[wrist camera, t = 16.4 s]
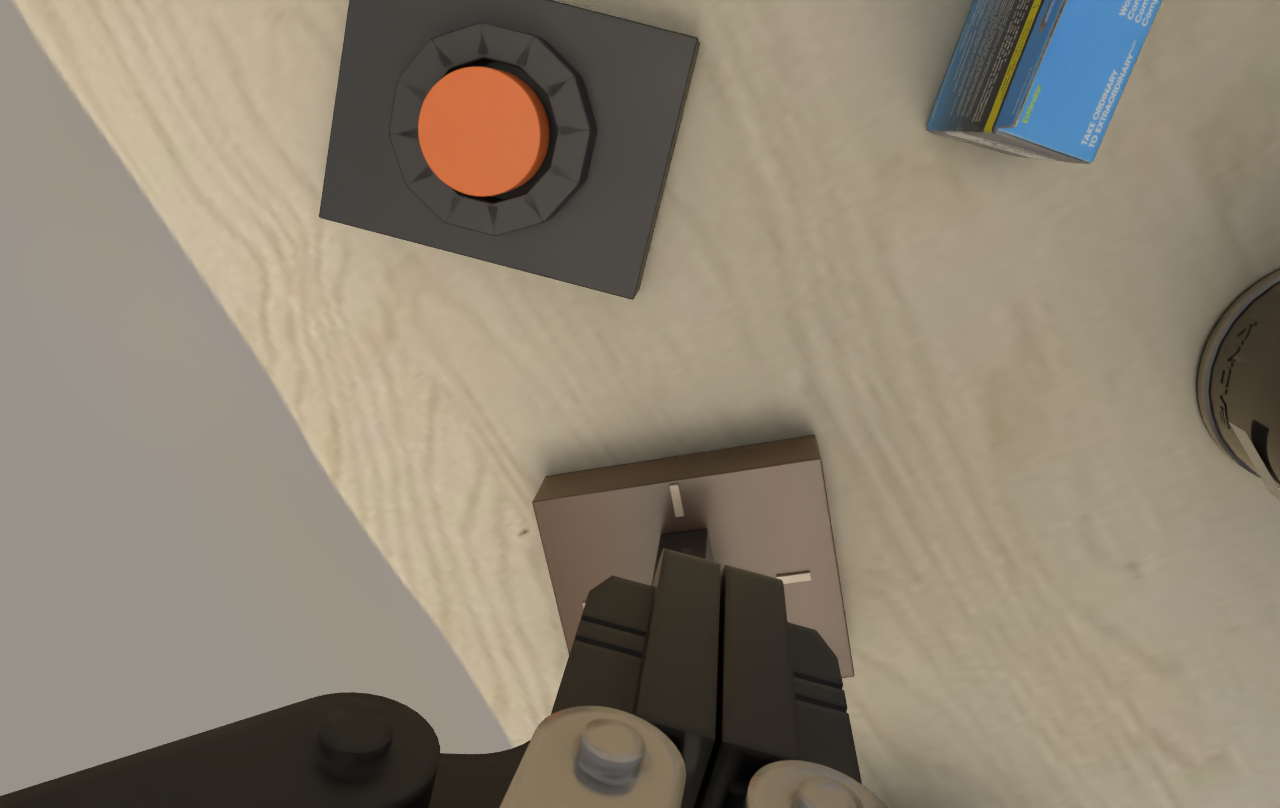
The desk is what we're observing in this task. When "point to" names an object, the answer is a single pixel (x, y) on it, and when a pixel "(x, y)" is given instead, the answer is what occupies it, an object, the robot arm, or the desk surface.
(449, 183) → the button
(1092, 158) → the ink cartridge box
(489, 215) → the button housing
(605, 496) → the dial panel
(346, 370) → the desk surface
